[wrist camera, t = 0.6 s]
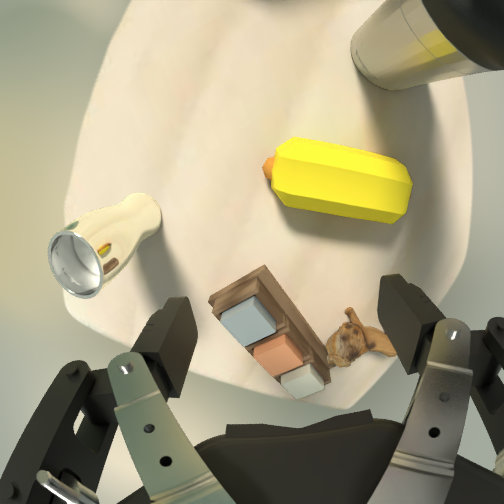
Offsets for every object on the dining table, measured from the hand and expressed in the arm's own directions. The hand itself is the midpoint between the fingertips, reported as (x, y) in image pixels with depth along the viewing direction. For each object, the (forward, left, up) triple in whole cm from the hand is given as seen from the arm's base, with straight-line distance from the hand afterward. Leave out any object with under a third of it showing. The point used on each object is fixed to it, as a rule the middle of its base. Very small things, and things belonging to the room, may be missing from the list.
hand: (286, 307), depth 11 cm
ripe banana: (-7, +2, -23) cm, 24 cm away
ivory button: (+11, +24, -19) cm, 33 cm away
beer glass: (+16, -8, -23) cm, 29 cm away
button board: (+11, +17, -23) cm, 31 cm away
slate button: (+11, +10, -19) cm, 25 cm away
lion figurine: (-1, +23, -23) cm, 33 cm away
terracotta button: (+11, +17, -19) cm, 28 cm away
